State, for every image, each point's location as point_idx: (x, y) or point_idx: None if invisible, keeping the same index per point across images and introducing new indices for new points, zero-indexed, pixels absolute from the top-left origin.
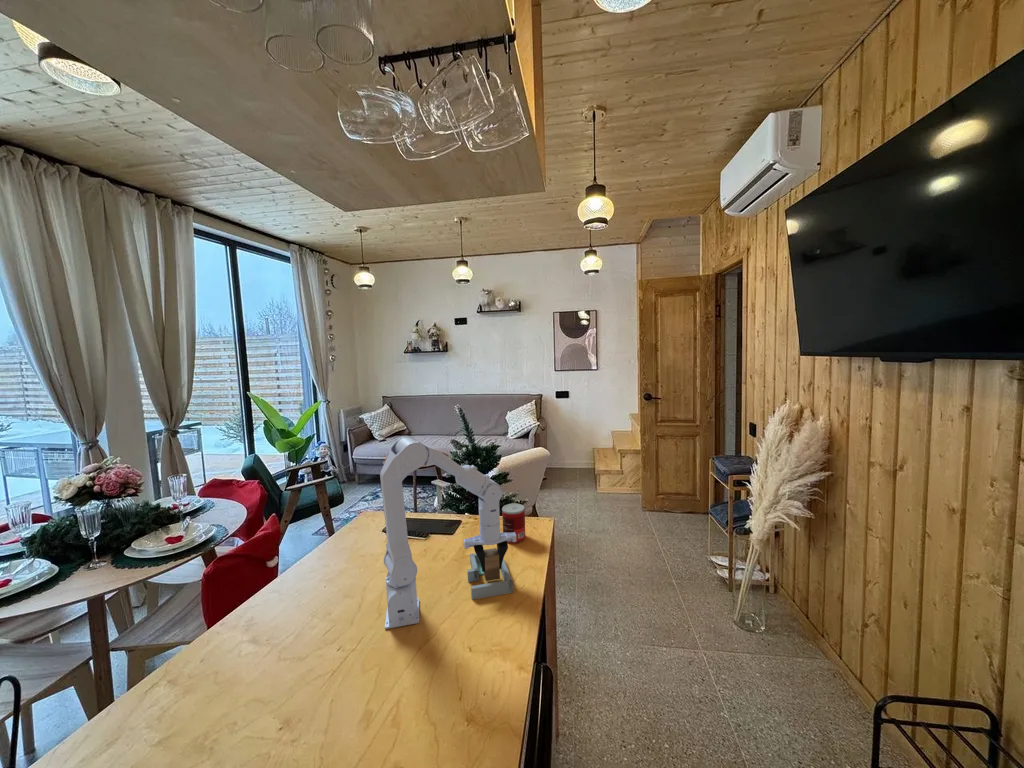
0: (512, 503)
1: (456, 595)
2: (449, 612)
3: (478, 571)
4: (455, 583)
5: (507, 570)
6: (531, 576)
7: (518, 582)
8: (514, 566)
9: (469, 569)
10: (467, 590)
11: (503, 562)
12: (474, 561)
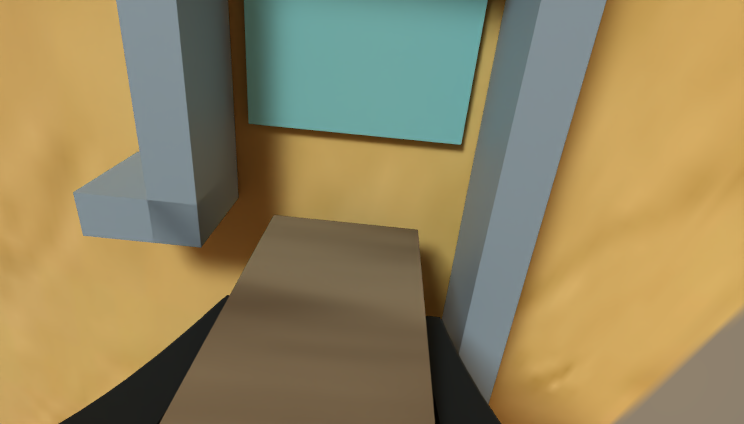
0: None
1: (62, 306)
2: (43, 420)
3: (247, 68)
4: (28, 163)
5: (495, 349)
6: (687, 300)
7: (544, 330)
8: (655, 95)
9: (99, 194)
10: (141, 283)
11: (526, 202)
12: (158, 35)
